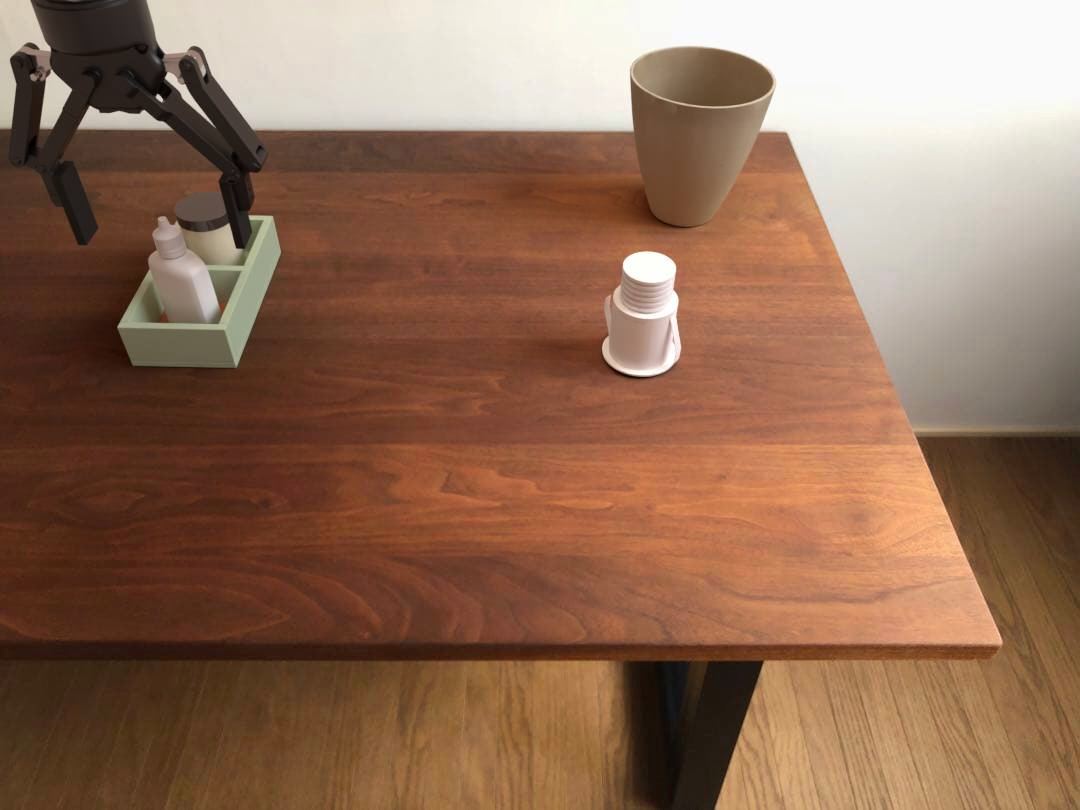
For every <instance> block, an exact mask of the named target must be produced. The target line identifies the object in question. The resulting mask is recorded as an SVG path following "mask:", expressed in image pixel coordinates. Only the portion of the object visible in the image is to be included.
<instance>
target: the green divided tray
mask: <svg viewBox="0 0 1080 810" xmlns="http://www.w3.org/2000/svg"><path fill="white" fill-rule="evenodd" d="M248 215H249V219H250V223H251V227H252V234H251V236H250V238H249V241H248V243H247V245H246V247H245V249H244V252H245V256H246V262H245V264H244V266H225V265H206V267H207V269H208V272H209V275H210V278H211V281H212V284H213V288H214V291H215V294H216V297H217V301H218V304H219V307H220V311H221V314H222V317H221V320H220V322H219V324H186V323H169V321H168V319H167V316H166V313H165V310H164V308H163V305H162V302H161V299H160V297H159V294H158V291H157V288H156V285H155V282H154V280H153V277H152V274H151V271H150V268H149V269H148V271H147V273H146V274H145V276H144V278H143V280H142V281H141V283H140V285H139V287H138V288H137V291H136V293H135V294H134V296H133V298H132V300H131V302H130V303H129V305H128V307H127V309H126V310H125V312H124V314H123V316H122V318H121V319H120V322H119V323H118V325H117V327H116V329H117V330H118V333H119V335H120V337H121V341H122V343H123V345H124V348H125V350H126V352H127V355H128V358H129V360H130V363H131V364H132V366H133V367H169V368H170V367H171V368H214V369H215V368H219V369H220V368H221V369H224V368H225V369H237V367H238V365H239V363H240V360H241V357H242V355H243V352H244V349H245V347H246V345H247V342H248V339H249V336H250V334H251V333H252V329H253V326H254V324H255V322H256V319H257V316H258V313H259V311H260V308H261V306H262V304H263V301H264V298H265V295H266V293H267V290H268V288H269V285H270V283H271V281H272V279H273V275H274V272H275V270H276V268H277V264H278V262H279V259H280V257H281V254H282V250H281V245H280V241H279V237H278V233H277V228H276V223H275V220H274V216H273V215H253V214H252V215H250V214H248ZM173 225H175V226H178V227H179V228H180V225H179V224H178V222H177V220H176V221H175V223H174V224H173ZM180 229H181V228H180ZM184 241H185V240H184ZM185 244H186V243H185Z"/></svg>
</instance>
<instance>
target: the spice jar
mask: <svg viewBox="0 0 1080 810" xmlns="http://www.w3.org/2000/svg"><path fill="white" fill-rule="evenodd" d="M173 209H174V210H173V211H174V215H175V218H176V221H177V222H178V224H179V225H180V228H181V231H182V234H183V237H184V240H185V243H186V247H187V249H189V250H190V251H192V252H193V253H195V254H196V255H197V256H198V257H199V258H200V259H201V260H202V261H203V262H204V263H205V265H225V266H244V264H245V262H246V256H245V252H244V249H236V247H235V243H234V239H233V235H232V232H231V228H230V224H229V220H228V216H227V213H226V209H225V205H224V201H223V197H222V193H221V191H200V192H195V193H192V194H190V195H187V196H185V197H183V198H182V199H180V200H179V201H178V202H177V203H176V204H175V206H174V208H173Z"/></svg>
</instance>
